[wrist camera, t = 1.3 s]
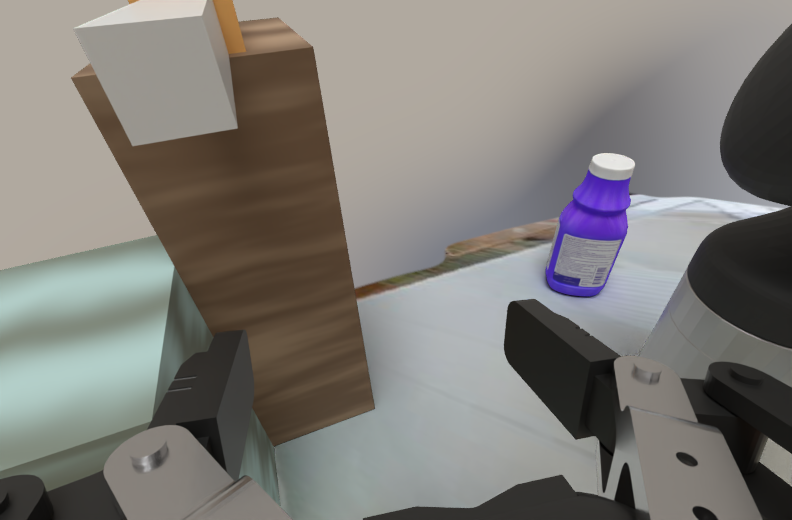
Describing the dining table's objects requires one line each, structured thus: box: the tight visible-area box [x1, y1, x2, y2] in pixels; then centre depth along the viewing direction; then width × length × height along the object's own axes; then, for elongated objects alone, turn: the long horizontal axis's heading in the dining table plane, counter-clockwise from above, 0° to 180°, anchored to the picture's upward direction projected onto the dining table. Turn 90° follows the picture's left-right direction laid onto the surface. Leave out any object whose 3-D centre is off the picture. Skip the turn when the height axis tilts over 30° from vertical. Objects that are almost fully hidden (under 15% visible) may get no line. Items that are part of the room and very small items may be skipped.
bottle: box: [546, 153, 635, 296], centre depth 45 cm, size 7×6×17 cm
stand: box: [0, 18, 375, 506], centre depth 27 cm, size 24×20×32 cm
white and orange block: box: [73, 0, 246, 146], centre depth 16 cm, size 21×4×4 cm, turn 20°
